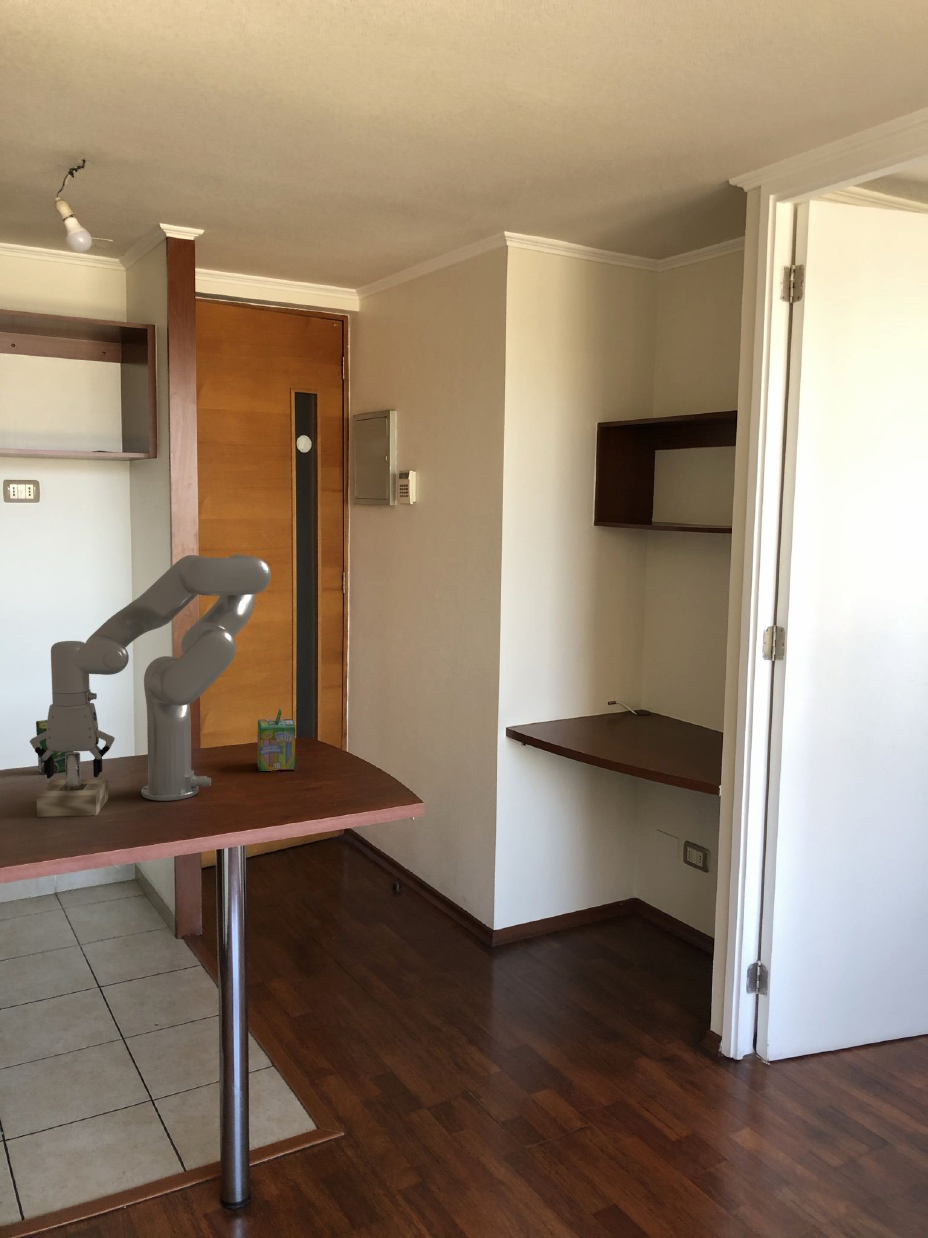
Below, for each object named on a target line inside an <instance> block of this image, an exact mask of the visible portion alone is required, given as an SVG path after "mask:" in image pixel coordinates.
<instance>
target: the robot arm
mask: <svg viewBox="0 0 928 1238" xmlns="http://www.w3.org/2000/svg"><path fill="white" fill-rule="evenodd" d="M271 580H272V570H271V567H270V566H269V565H268V564H267V562H266V561H264V560H263V559H261V558H259V557H256V556H250V555H245V554H233V555H230V556H228V557H207V556H201V555H195V554H194V555H193V554H191V555H190V554H189V555H185V556H183V557H181V558H180V559H178V561H176V562H175V563H174V564H173V565H172V566H171V567H170V568H169V569H167V570H166V571H165V572H164V573H163V574H162V575H161V576H160V577H159V578H158V579H157V580H156V581H155V582H154V583H153V584H152V585H151V586H149V588H148V589H146V590H145V591H144V592H143V593H142V594H141V595H140V596H138V597H137V598H136V599H134V600H132V601H131V602H130V603H129V604H127V605H126V606H125V607H123V608H122V609H120V610H119V611H117V612H116V613H115V614H113V615H112V616H111V617H109V618H108V619H107V620H106V621H105V622H103V624H102V625H101V626H99V627H98V628H97V630H95V631H94V632H93V633H92V634H91V635H90V636H89V637H88V638H87V640H86V641H85V642H84V641H82V640H81V641H80V640H65V641H58V642H55V643H54V644H52V646H51V648H50V667H51V669H50V671H51V672H50V673H51V696H52V697H51V701H52V702H51V704H50V705H49V708H48V713H47V719H46V720H47V731H46V732H44V733H42V734H40V735H38V736H37V735H36V736H34V737H32V738H31V739H30V740H29V743H30V745H31V746H32V748H33V749H34V752H35V753H36V754H37V756H38V755H39V756H40V757H42V760H44V773H45V774H44V775H46V778H47V779H51V778H52V777H53V776H54V775H55V773H54V758H53V757H52V753H53V752H72V751H74V752H89V753H91V754H92V756H93V757H94V758H93V760H92V765H93V767H92V768H93V771H92V772H93V777H94V778H98V777H99V776H100V774H101V773H102V772H103V757H104V756H105V755H106V754H107V753H108V752H109V751H110V749H111V747H112V745H113V744H114V742H115V740H116V738H115V737H114V736H113V735H111V734H108V733H106V732H105V731H103V730H100V729H99V723H98V715H97V709H96V705H95V703H93V702H91V701H94V700H97V699H98V693H96V692H92V691H91V688H90V687H91V686H90V675H103V676H105V675H106V676H108V675H109V676H110V675H111V676H113V675H116V674H118V673H121V672H122V671H123V670H125V668H126V667H127V665H128V664H129V659H130V656H129V655H130V654H129V651H128V650H127V647H128V646H129V645H130V644H132V643H133V642H134V641H135V640H137V639H138V638H139V637H141V636H143V635H145V634H146V633H148V632H150V631H153V630H156V629H159V628H162V627H165V626H166V625H168V624H169V623H171V621H172V620H174V618H175V617H177V615H178V614H180V613H181V612H182V611H183V609H185V608H186V607H187V606H188V605H189V604H190V603H192V601H193V600H194V599H195V598H196V597H198V596H209V597H210V596H215V597H218V598H217V600H216V602H215V603H213V605H212V606H210V608H209V609H208V610H207V611H206V612H205V613H204V614H203V616H202V617H200V618H199V619H198V620H197V622H195V623H194V624H193V625H192V626H191V627H190V628H189V629H188V630H187V631H186V632H185V633H184V635H183V636H182V638H181V641H180V642H181V643H180V645H181V646H180V647H181V648H180V649H181V651H182V655H180V657H178V658H177V657H175V656H169V655H164V656H159V657H157V658H154V659H153V660H152V661H151V662H150V663H149V664H148V665H147V667H146V668H145V672H144V676H143V688H144V689H143V690H144V695H145V704H146V720H147V721H146V722H147V723H146V724H147V725H146V726H147V729H146V731H147V732H146V733H147V735H146V738H147V741H146V742H147V783H148V784H146V785H145V786H143V787H142V788H141V791H140V794H141V796H142V797H143V798H144V799H146V800H150V801H161V802H166V801H168V802H169V801H178V800H183V799H188V798H191V797H193V796H195V795H197V794H198V793H199V787H200V786H201V787H211V786H212V778H211V777H208V776H207V775H199V776H197V775H196V774H195V769H192V745H191V744H192V737H191V734H192V733H191V732H192V730H191V729H192V727H191V726H192V720H191V719H192V717H191V715H192V714H191V705H190V704H192V703H193V702H195V701H196V700H197V699H198V698H200V697H201V696H202V695H204V693H205V692H206V691H207V690H208V689H209V687H211V685H213V683H214V682H215V681H216V680H217V679H218V678H219V677H220V676H221V675H222V674H223V673H224V672H225V671H226V670H227V669H228V668H229V666H230V665H231V664H232V662H233V661H234V659H235V656H236V653H237V643H236V640H235V637H236V636H237V635H238V634H239V632H240V631H241V630H242V629H243V628H244V627H245V626H246V624H247V623H248V622H249V620H250V619H251V617H252V615H253V613H254V610H255V605H256V595H257V594H260V593H262V592H264V591H265V590H266V589H267V588H268V587H269V585H270V583H271V582H272V581H271ZM45 738H46V743H47V748H48V750H47V751H46V750H45V749H44V748H43V747H42V746H41V745H40V743H39V742H40V741H41V740H43V739H45ZM100 739H101V740H103V741H105V744H104V746H103V747H102V748H100V746H99V742H100Z"/></svg>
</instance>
